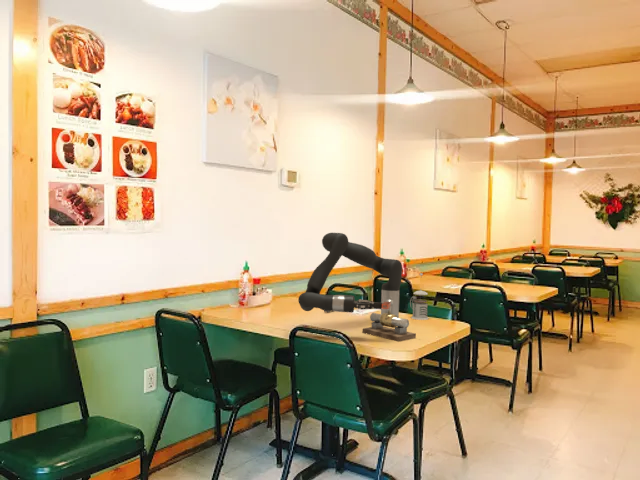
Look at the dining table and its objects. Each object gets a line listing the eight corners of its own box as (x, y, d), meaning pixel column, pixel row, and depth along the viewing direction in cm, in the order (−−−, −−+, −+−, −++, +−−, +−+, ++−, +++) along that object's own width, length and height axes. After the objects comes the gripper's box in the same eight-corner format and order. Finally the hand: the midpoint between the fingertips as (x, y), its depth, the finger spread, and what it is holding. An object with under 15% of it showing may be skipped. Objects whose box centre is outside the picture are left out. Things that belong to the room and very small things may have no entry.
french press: (432, 319, 284) (434, 273, 283) (416, 320, 278) (418, 274, 277) (420, 316, 292) (421, 272, 291) (404, 317, 286) (406, 272, 285)
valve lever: (393, 303, 239) (393, 299, 239) (388, 309, 224) (388, 304, 224) (386, 303, 240) (386, 299, 240) (381, 308, 225) (381, 304, 225)
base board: (415, 337, 235) (415, 333, 235) (399, 341, 227) (399, 336, 227) (379, 329, 251) (379, 325, 251) (362, 332, 243) (362, 328, 243)
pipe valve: (410, 334, 233) (410, 307, 233) (401, 335, 229) (402, 308, 229) (376, 326, 248) (377, 301, 248) (368, 328, 244) (369, 302, 244)
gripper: (342, 297, 223) (382, 299, 221) (344, 293, 236) (382, 295, 234) (341, 314, 223) (382, 316, 221) (344, 309, 236) (382, 311, 234)
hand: (382, 305), depth 228 cm, fingers closed
